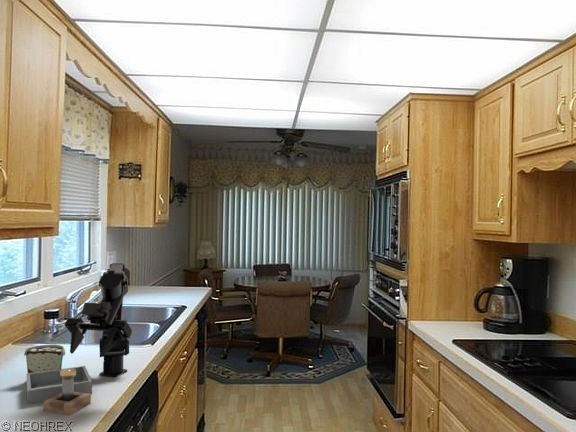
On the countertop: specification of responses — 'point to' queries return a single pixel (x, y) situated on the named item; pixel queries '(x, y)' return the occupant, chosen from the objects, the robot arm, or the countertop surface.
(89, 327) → the robot arm
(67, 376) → the pin
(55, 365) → the food container
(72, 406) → the socket block
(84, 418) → the countertop surface
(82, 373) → the tray
